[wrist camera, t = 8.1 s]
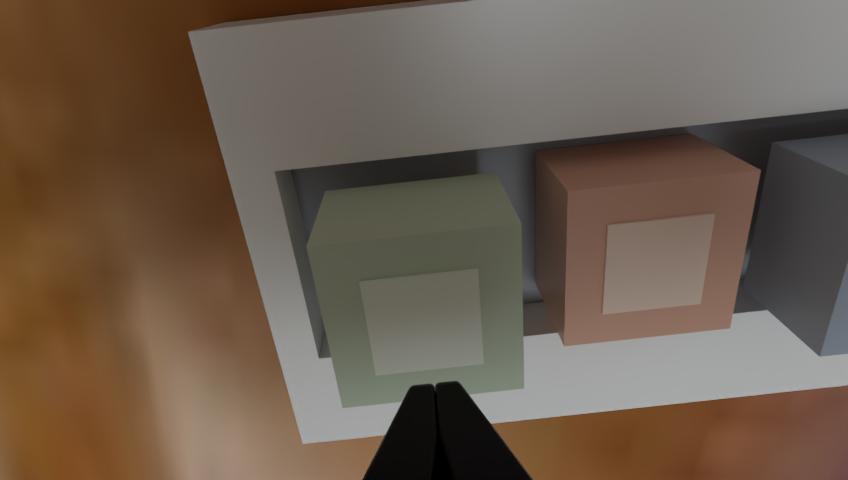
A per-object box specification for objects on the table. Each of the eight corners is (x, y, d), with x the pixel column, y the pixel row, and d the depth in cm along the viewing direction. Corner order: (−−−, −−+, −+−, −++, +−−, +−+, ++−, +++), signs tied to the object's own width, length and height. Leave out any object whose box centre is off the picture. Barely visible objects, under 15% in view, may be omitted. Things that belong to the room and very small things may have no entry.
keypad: (1211, -87, 13) (1383, -101, 11) (1018, 310, 19) (1107, 357, 16) (224, 22, 13) (188, 31, 11) (314, 385, 19) (302, 444, 16)
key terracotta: (691, 133, 14) (763, 171, 11) (674, 269, 16) (731, 330, 13) (535, 150, 14) (568, 192, 11) (535, 284, 16) (565, 348, 13)
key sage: (495, 172, 13) (521, 224, 10) (501, 314, 15) (525, 390, 12) (325, 191, 13) (305, 248, 10) (352, 330, 15) (342, 410, 12)
